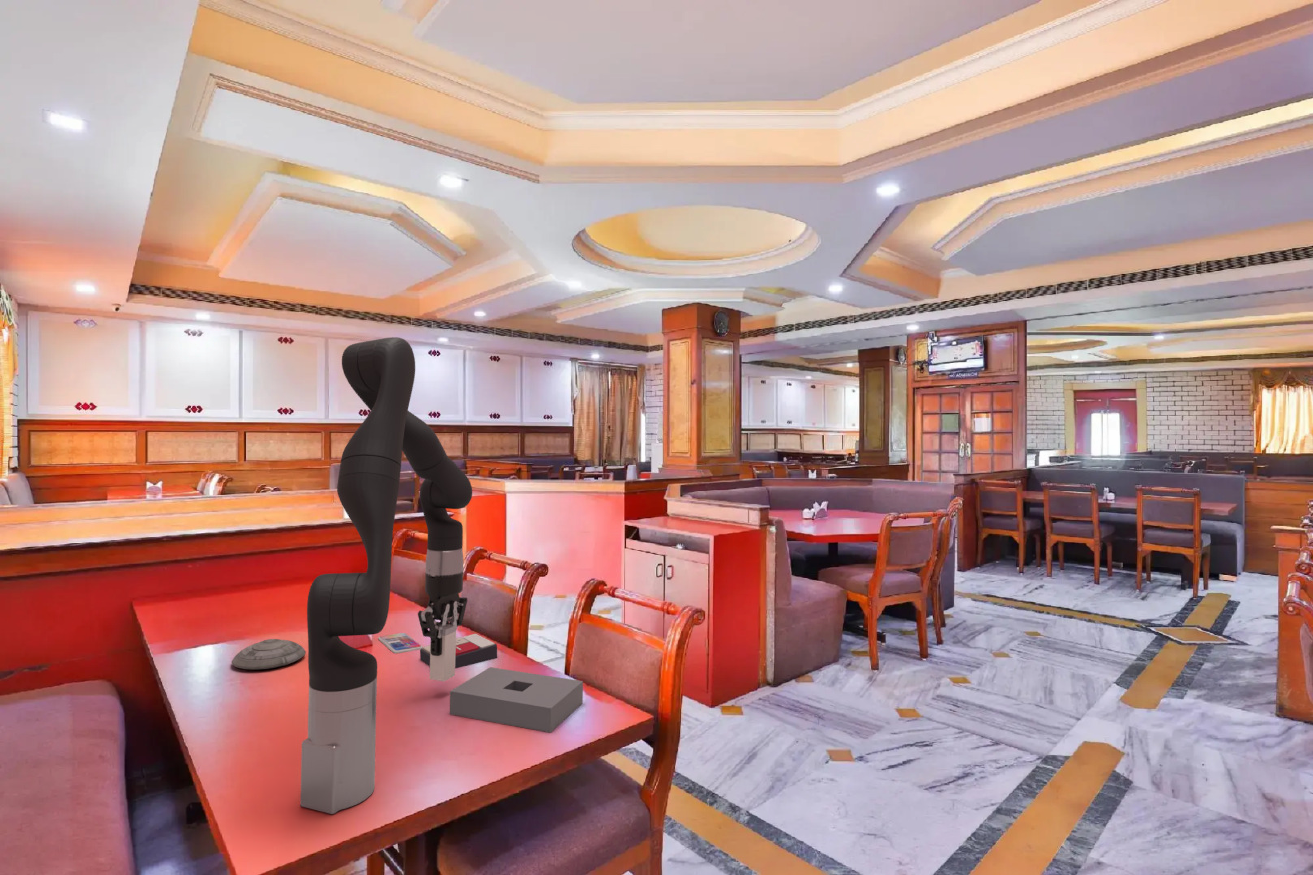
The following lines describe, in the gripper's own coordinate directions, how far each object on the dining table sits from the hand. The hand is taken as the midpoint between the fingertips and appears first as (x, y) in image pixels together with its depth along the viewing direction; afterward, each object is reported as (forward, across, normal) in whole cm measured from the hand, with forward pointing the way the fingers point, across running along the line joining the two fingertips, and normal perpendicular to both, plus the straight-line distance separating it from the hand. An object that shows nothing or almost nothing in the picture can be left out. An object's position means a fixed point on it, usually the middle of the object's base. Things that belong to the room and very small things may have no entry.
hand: (442, 651), depth 132 cm
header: (+9, 0, +18) cm, 20 cm away
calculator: (+10, -20, -10) cm, 24 cm away
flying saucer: (+10, -2, -50) cm, 51 cm away
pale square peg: (+5, 0, 0) cm, 5 cm away
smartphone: (+10, -24, -31) cm, 40 cm away
